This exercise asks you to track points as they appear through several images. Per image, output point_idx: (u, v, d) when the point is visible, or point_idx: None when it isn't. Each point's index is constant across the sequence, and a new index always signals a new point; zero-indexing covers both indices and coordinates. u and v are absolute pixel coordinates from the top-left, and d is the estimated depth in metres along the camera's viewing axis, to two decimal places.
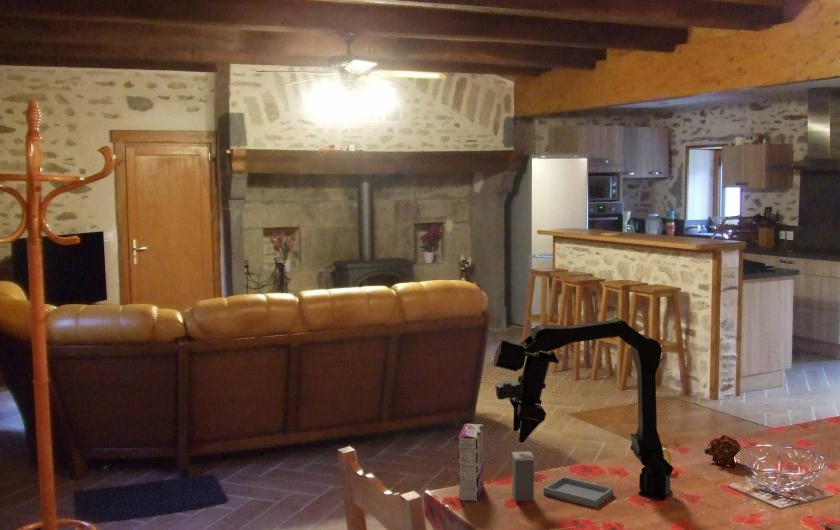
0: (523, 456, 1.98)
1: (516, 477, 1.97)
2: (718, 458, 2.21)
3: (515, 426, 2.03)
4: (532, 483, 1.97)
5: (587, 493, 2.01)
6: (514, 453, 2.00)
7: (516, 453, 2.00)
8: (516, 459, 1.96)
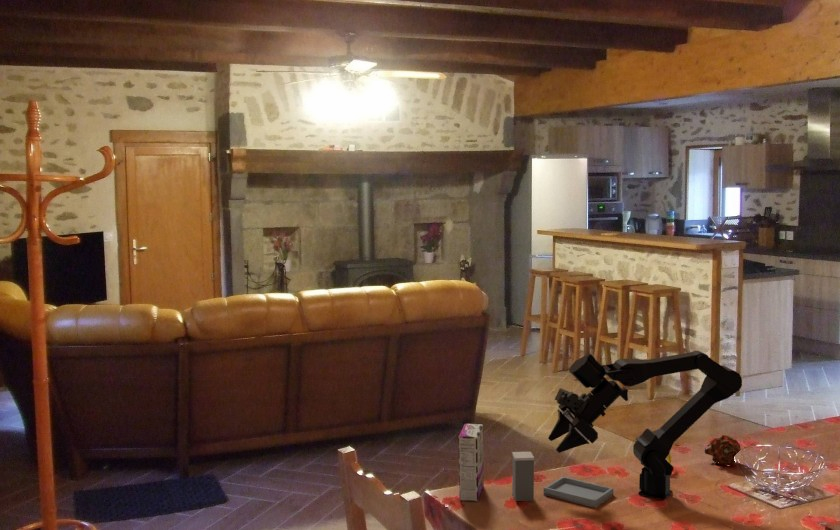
0: (523, 456, 1.98)
1: (516, 477, 1.97)
2: (718, 458, 2.21)
3: (552, 435, 2.03)
4: (532, 483, 1.97)
5: (587, 493, 2.01)
6: (514, 453, 2.00)
7: (516, 453, 2.00)
8: (516, 459, 1.96)
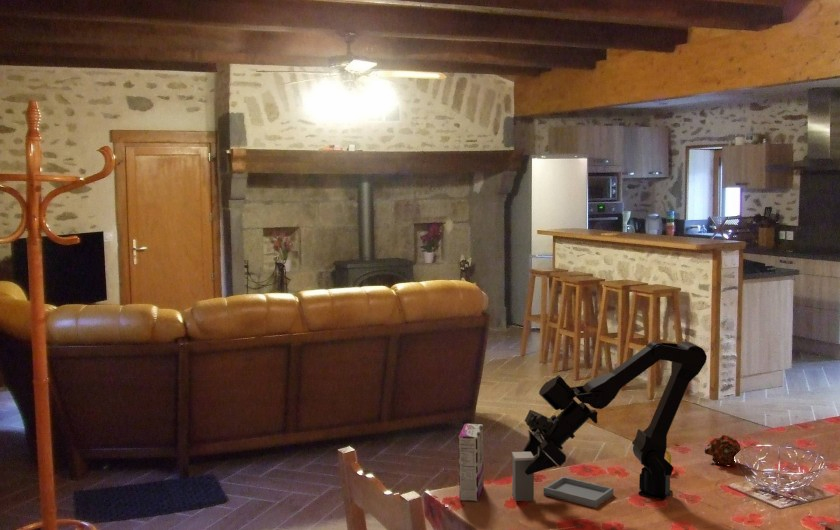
0: (523, 456, 1.98)
1: (516, 477, 1.97)
2: (718, 458, 2.21)
3: None
4: (532, 483, 1.97)
5: (587, 493, 2.01)
6: (514, 453, 2.00)
7: (516, 453, 2.00)
8: (516, 459, 1.96)
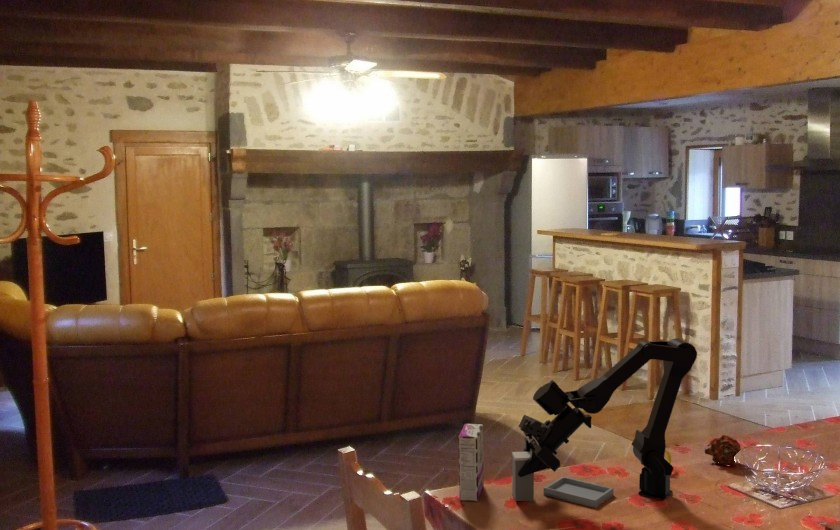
0: (523, 456, 1.98)
1: (516, 477, 1.97)
2: (718, 458, 2.21)
3: None
4: (532, 483, 1.97)
5: (587, 493, 2.01)
6: (514, 453, 2.00)
7: (516, 453, 2.00)
8: (516, 459, 1.96)
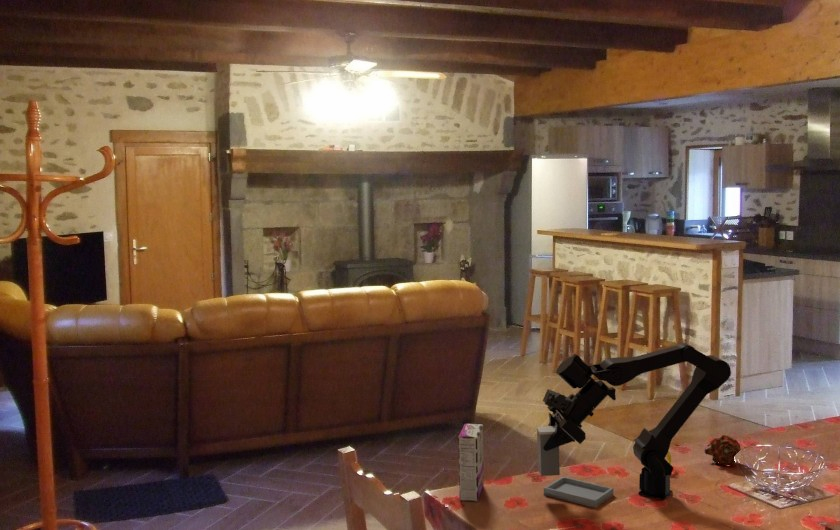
0: (548, 430, 1.98)
1: (541, 451, 1.97)
2: (718, 458, 2.21)
3: None
4: (557, 457, 1.97)
5: (587, 493, 2.01)
6: (539, 428, 2.00)
7: (541, 427, 2.00)
8: (541, 433, 1.97)
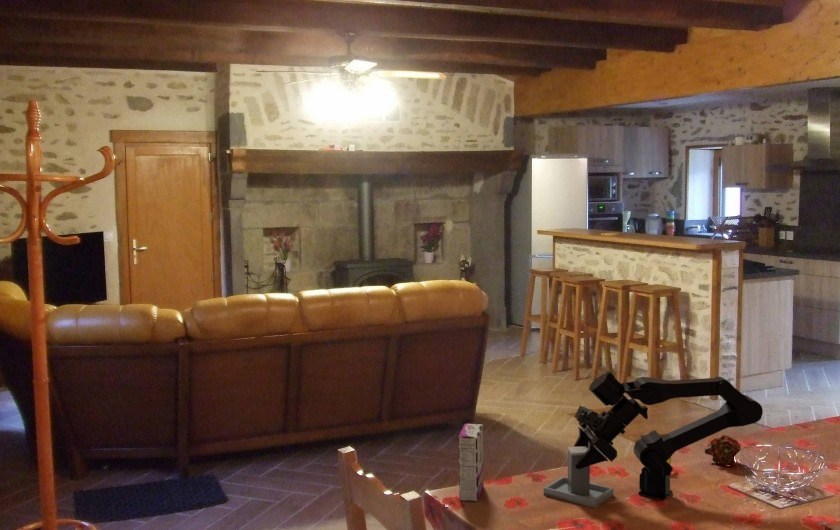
0: (579, 451, 1.99)
1: (572, 471, 1.99)
2: (718, 458, 2.21)
3: None
4: (588, 478, 1.99)
5: None
6: (570, 448, 2.01)
7: (572, 448, 2.02)
8: (572, 454, 1.98)
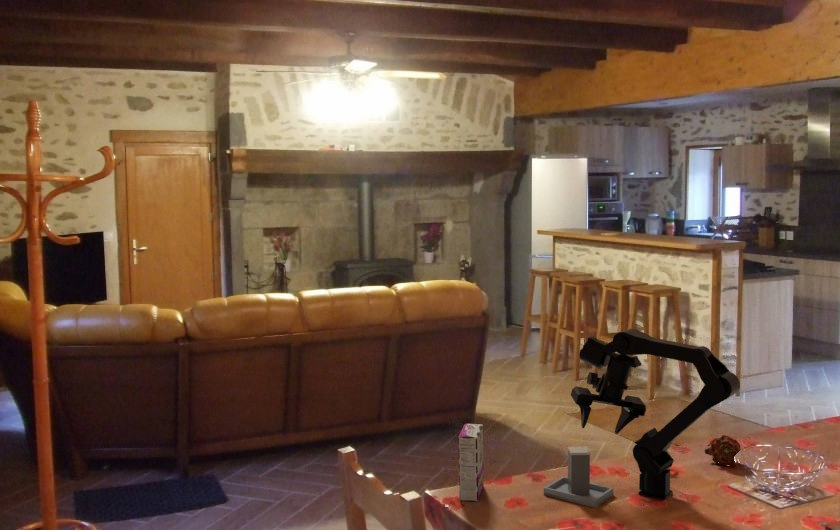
0: (579, 451, 1.99)
1: (572, 471, 1.99)
2: (718, 458, 2.21)
3: (616, 428, 2.10)
4: (588, 478, 1.99)
5: None
6: (570, 448, 2.01)
7: (572, 448, 2.02)
8: (572, 454, 1.98)
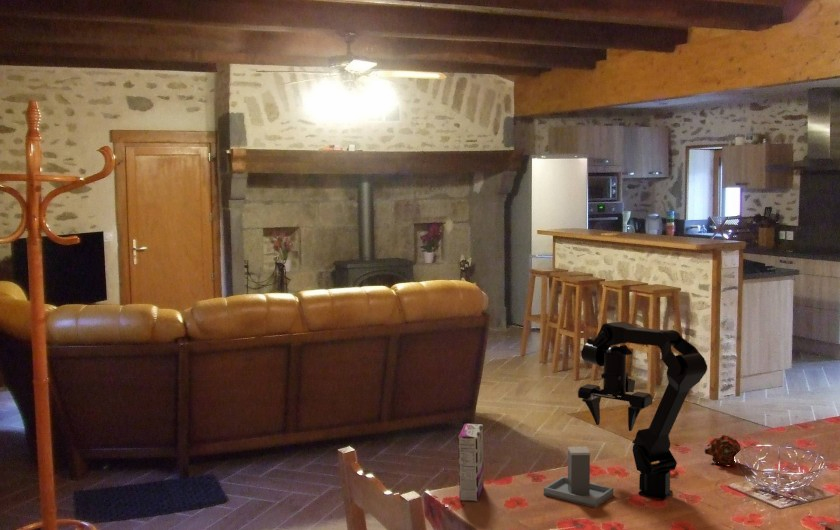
0: (579, 451, 1.99)
1: (572, 471, 1.99)
2: (718, 458, 2.21)
3: None
4: (588, 478, 1.99)
5: None
6: (570, 448, 2.01)
7: (572, 448, 2.02)
8: (572, 454, 1.98)
